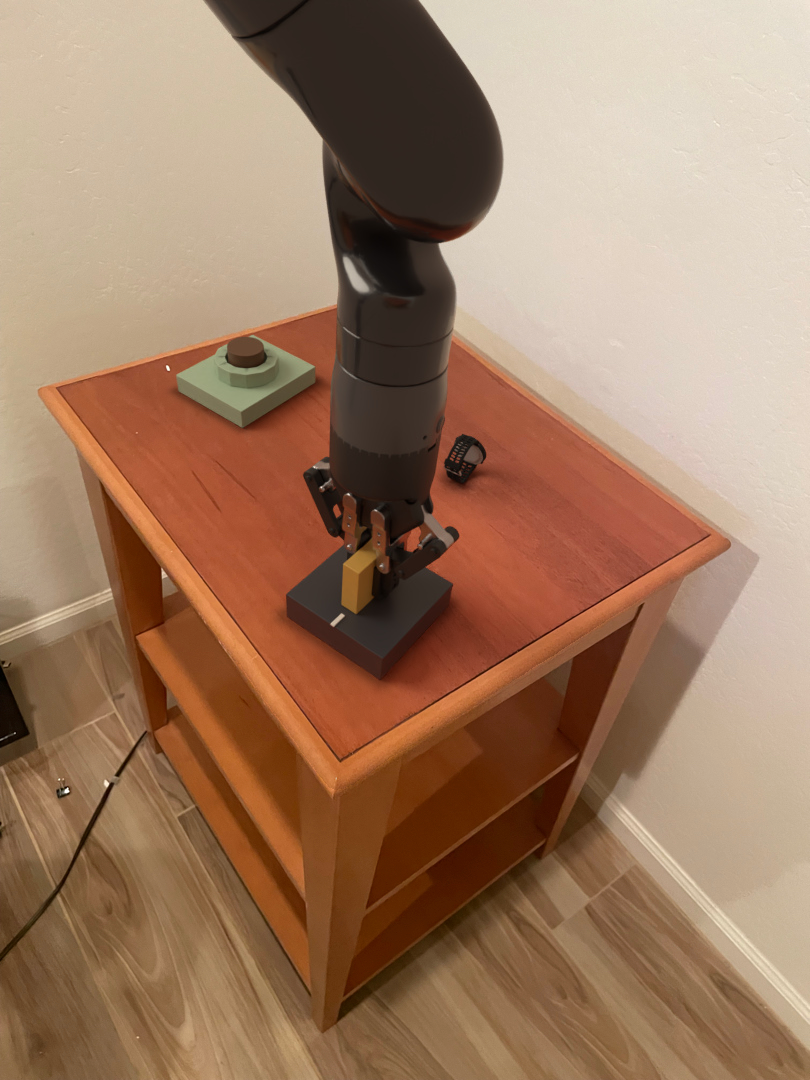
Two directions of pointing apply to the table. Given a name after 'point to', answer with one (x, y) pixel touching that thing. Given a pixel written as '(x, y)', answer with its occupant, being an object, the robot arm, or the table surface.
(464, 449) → the smartwatch
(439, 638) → the table surface
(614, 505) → the table surface
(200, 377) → the doorbell
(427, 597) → the plate
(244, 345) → the bell button
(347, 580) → the lock knob
